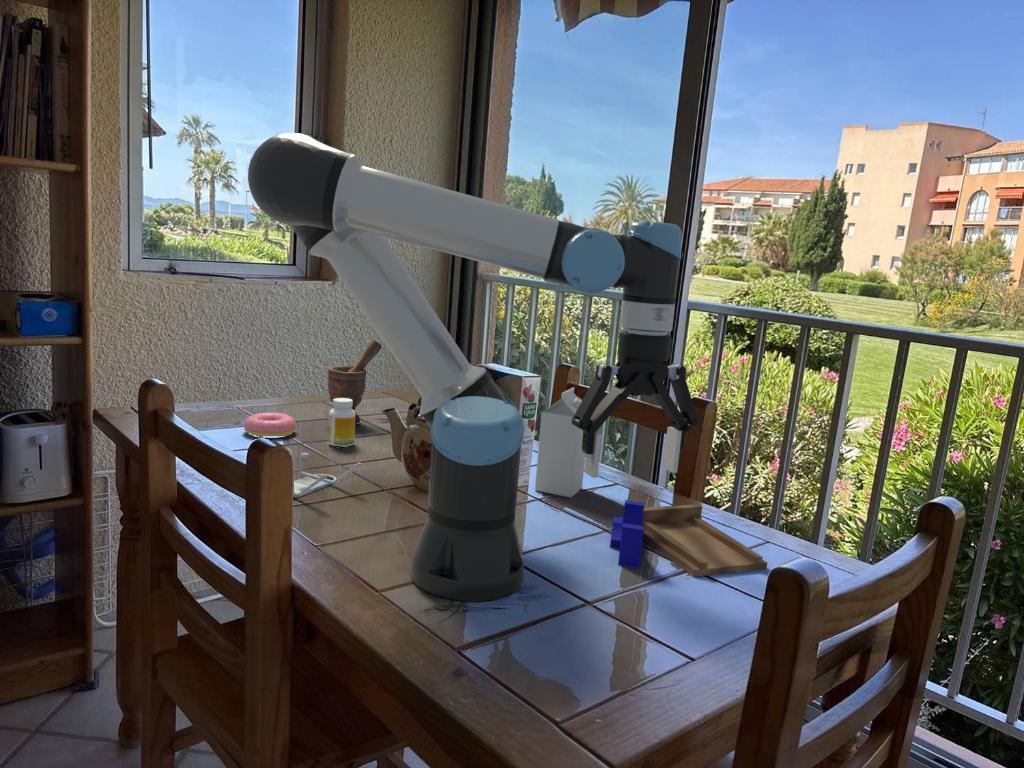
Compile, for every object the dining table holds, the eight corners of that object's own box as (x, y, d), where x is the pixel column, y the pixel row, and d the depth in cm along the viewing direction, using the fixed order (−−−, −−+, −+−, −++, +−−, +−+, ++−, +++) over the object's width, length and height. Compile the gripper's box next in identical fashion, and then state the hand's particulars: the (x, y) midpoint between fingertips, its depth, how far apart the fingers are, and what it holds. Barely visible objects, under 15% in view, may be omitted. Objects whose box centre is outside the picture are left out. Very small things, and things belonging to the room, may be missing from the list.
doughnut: (232, 433, 159) (232, 414, 158) (273, 425, 168) (273, 407, 167) (267, 444, 153) (267, 424, 152) (307, 434, 162) (307, 416, 162)
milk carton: (534, 491, 136) (543, 390, 133) (547, 481, 143) (555, 384, 139) (571, 498, 134) (581, 396, 130) (582, 488, 140) (592, 390, 137)
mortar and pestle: (363, 416, 182) (367, 336, 178) (382, 424, 175) (386, 341, 171) (320, 421, 174) (322, 337, 170) (337, 429, 168) (340, 342, 164)
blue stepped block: (611, 534, 119) (615, 498, 118) (639, 538, 118) (644, 502, 117) (607, 564, 107) (612, 525, 106) (639, 569, 107) (643, 529, 106)
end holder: (693, 576, 105) (696, 553, 104) (629, 528, 121) (631, 508, 121) (766, 568, 110) (769, 546, 109) (695, 523, 126) (697, 504, 126)
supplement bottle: (359, 444, 157) (361, 400, 155) (341, 449, 153) (343, 403, 151) (341, 439, 160) (343, 395, 158) (322, 444, 155) (324, 399, 154)
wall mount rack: (311, 474, 137) (312, 443, 136) (371, 489, 131) (372, 457, 130) (248, 496, 123) (248, 462, 122) (311, 514, 117) (312, 479, 116)
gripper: (579, 333, 99) (566, 485, 103) (732, 336, 108) (715, 475, 112) (556, 326, 106) (545, 468, 110) (702, 330, 115) (687, 461, 119)
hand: (631, 472), depth 111 cm, fingers open, 13 cm apart
